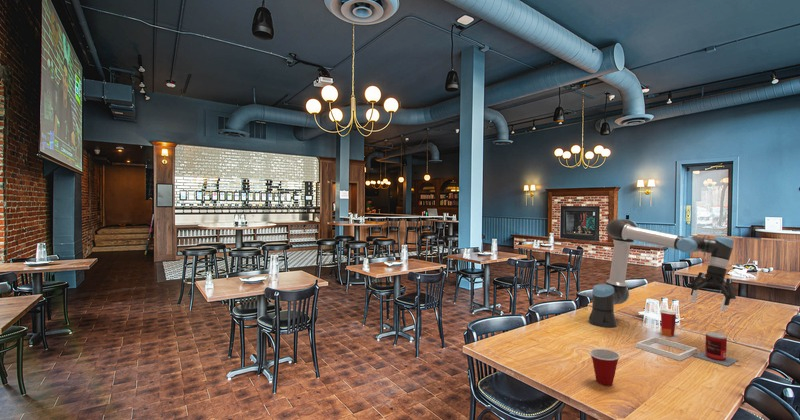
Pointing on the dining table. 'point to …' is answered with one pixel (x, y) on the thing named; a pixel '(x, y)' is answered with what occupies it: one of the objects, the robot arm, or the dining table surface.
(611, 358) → the plastic cup
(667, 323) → the paper cup
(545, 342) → the dining table surface
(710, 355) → the canned food
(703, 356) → the mat
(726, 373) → the dining table surface
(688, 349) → the corral
